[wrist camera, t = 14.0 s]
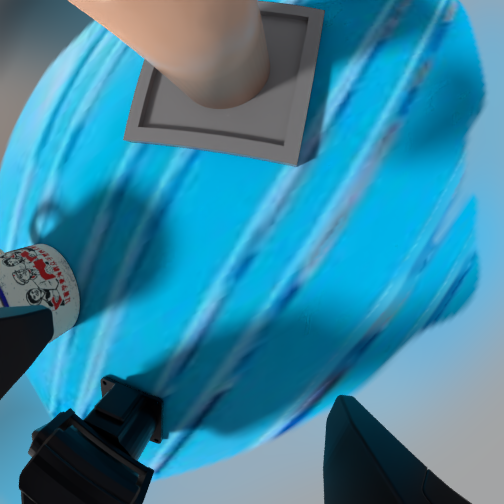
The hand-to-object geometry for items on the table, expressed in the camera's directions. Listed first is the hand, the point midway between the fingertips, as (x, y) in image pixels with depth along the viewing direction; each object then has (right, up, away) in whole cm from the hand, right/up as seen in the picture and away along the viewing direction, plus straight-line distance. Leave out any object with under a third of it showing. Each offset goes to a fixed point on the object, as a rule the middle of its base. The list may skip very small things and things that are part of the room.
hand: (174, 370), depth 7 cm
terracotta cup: (0, +16, +10) cm, 18 cm away
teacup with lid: (-18, +1, +16) cm, 24 cm away
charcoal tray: (0, +16, +10) cm, 19 cm away
